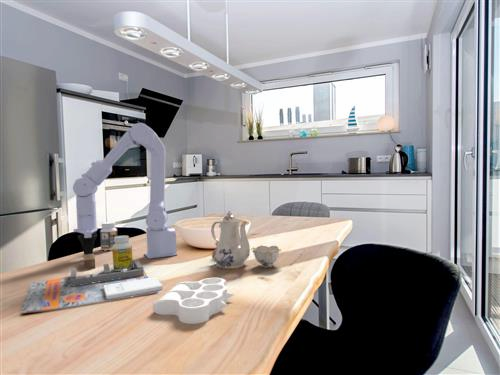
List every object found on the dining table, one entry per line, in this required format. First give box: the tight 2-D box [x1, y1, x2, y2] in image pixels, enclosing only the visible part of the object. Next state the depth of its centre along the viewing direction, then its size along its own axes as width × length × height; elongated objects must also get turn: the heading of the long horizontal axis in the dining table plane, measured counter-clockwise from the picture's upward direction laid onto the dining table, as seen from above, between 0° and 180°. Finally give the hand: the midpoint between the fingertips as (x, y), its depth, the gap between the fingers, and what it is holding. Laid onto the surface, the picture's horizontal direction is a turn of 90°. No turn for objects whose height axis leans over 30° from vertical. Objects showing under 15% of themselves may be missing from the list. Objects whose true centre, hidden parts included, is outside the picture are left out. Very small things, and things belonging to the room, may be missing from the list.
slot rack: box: [70, 259, 145, 287], centre depth 94 cm, size 18×10×2 cm, turn 117°
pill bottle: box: [99, 221, 118, 252], centre depth 126 cm, size 6×6×10 cm
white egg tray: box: [152, 277, 235, 325], centre depth 72 cm, size 3×18×15 cm
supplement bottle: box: [111, 235, 134, 272], centre depth 99 cm, size 5×5×10 cm
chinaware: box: [210, 210, 282, 270], centre depth 104 cm, size 28×17×17 cm, turn 46°
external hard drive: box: [102, 276, 164, 300], centre depth 82 cm, size 2×8×12 cm
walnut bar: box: [83, 253, 96, 270], centre depth 104 cm, size 3×8×3 cm, turn 27°
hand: (88, 256), depth 112 cm, fingers closed
